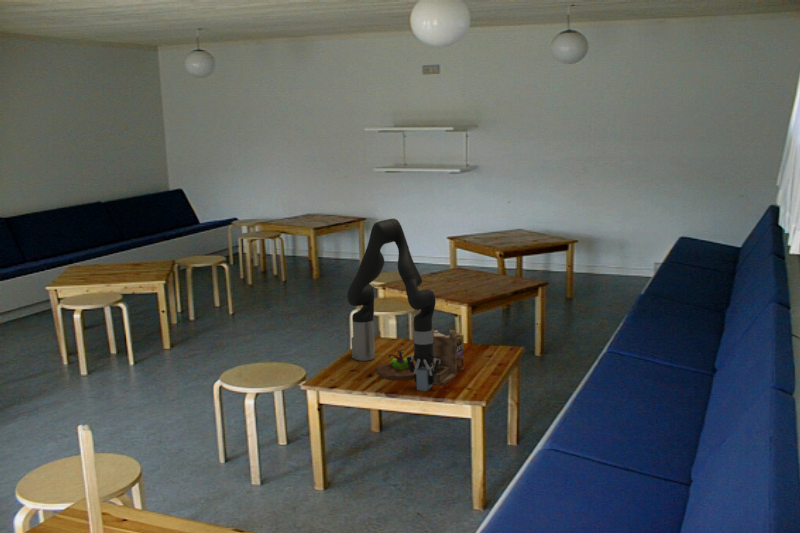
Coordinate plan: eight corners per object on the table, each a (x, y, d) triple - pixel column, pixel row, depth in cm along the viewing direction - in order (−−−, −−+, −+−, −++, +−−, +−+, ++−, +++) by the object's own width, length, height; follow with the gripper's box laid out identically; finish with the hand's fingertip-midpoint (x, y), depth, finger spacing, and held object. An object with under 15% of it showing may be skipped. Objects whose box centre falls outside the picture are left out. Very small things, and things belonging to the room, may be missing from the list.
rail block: (416, 389, 291) (416, 370, 290) (423, 384, 297) (423, 365, 296) (426, 391, 290) (425, 371, 288) (433, 385, 296) (432, 366, 294)
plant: (385, 384, 301) (384, 357, 299) (371, 371, 319) (370, 345, 317) (432, 377, 307) (431, 351, 306) (414, 365, 325) (414, 340, 324)
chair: (416, 382, 300) (414, 336, 298) (430, 372, 313) (429, 327, 310) (444, 385, 295) (443, 338, 292) (457, 375, 308) (456, 330, 305)
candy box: (447, 373, 311) (446, 337, 308) (441, 371, 314) (440, 335, 312) (464, 369, 316) (463, 334, 313) (458, 367, 319) (457, 332, 317)
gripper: (402, 342, 290) (403, 384, 292) (436, 345, 284) (437, 388, 286) (410, 337, 296) (411, 378, 299) (444, 340, 290) (445, 382, 293)
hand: (424, 383), depth 293 cm, fingers open, 5 cm apart
